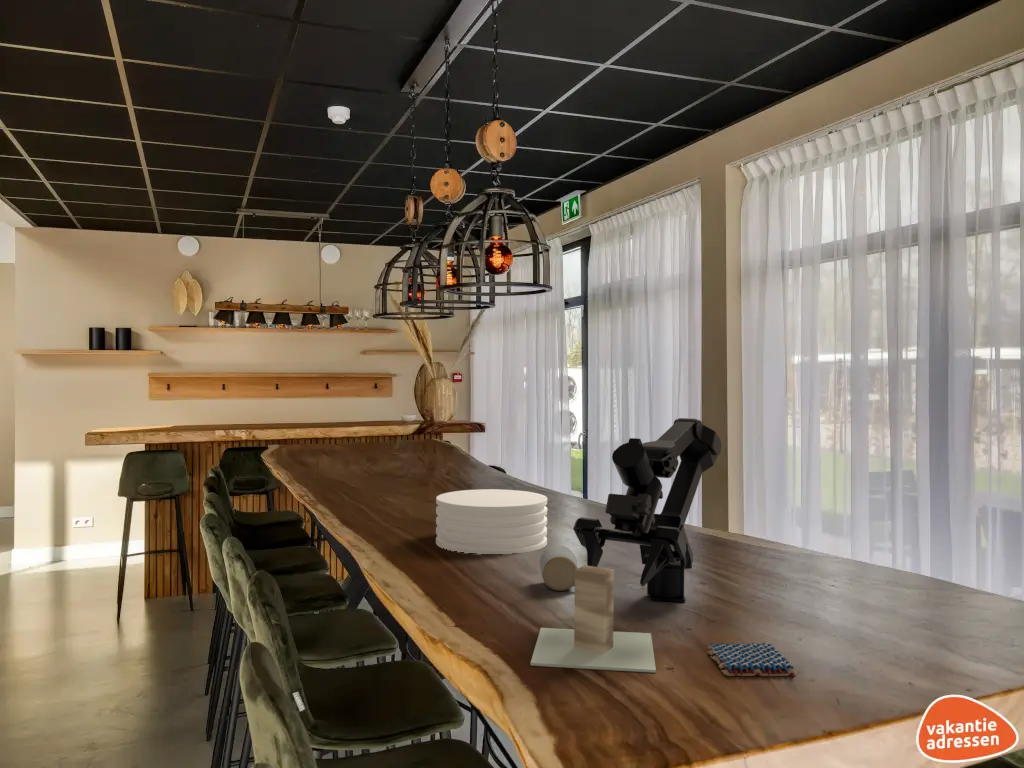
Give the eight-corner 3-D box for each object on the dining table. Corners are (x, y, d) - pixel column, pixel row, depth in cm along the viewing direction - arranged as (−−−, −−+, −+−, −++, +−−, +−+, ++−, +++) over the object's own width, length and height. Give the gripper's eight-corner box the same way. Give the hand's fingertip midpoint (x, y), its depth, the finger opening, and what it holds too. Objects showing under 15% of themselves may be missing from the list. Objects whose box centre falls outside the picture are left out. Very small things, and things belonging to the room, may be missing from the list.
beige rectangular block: (583, 641, 124) (584, 565, 124) (613, 646, 121) (614, 569, 121) (574, 647, 121) (574, 569, 121) (604, 653, 118) (604, 574, 118)
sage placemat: (650, 635, 128) (650, 633, 128) (655, 672, 112) (655, 669, 112) (540, 630, 130) (540, 627, 130) (530, 665, 114) (530, 662, 114)
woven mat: (772, 654, 122) (772, 640, 122) (798, 680, 111) (798, 666, 111) (705, 653, 121) (705, 640, 121) (724, 680, 111) (725, 666, 111)
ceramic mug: (541, 592, 153) (542, 553, 153) (539, 581, 161) (540, 544, 161) (595, 593, 153) (597, 554, 153) (590, 582, 161) (591, 545, 161)
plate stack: (419, 551, 188) (420, 503, 188) (455, 529, 215) (456, 487, 215) (534, 558, 182) (534, 509, 181) (556, 534, 209) (556, 491, 209)
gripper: (578, 471, 138) (548, 546, 128) (681, 479, 128) (658, 560, 119) (596, 509, 145) (569, 582, 135) (695, 519, 135) (674, 599, 126)
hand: (615, 580), depth 129 cm, fingers open, 9 cm apart
